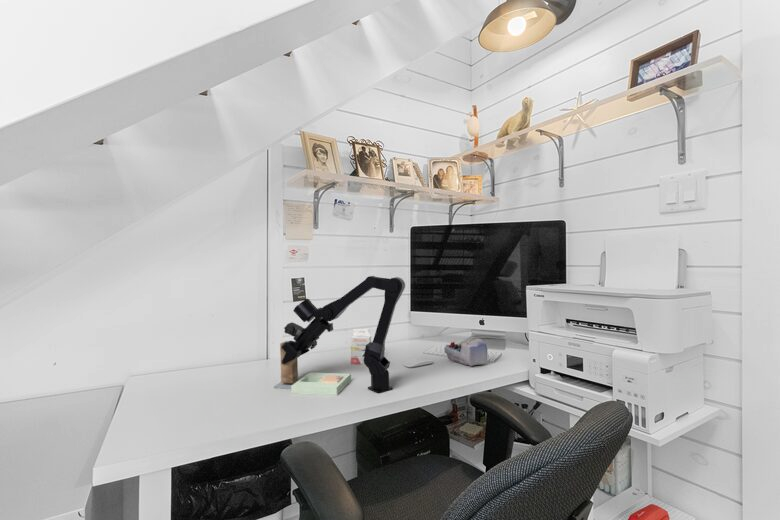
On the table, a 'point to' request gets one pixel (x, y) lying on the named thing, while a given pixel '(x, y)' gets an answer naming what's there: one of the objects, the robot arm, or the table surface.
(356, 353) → the ink cartridge box
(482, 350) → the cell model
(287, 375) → the walnut block
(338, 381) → the puzzle board
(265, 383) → the table surface
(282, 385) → the grey mat
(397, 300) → the robot arm
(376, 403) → the table surface
